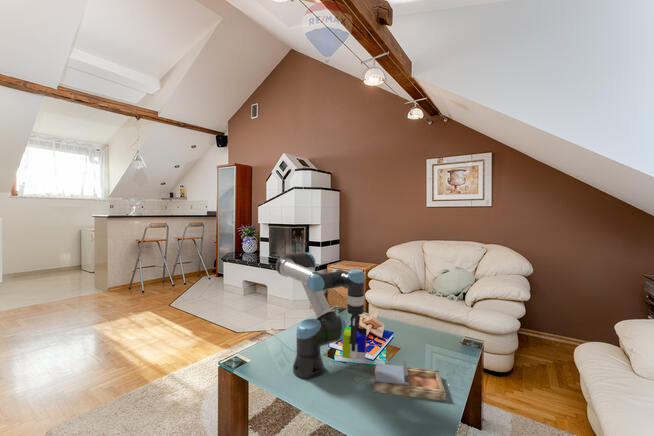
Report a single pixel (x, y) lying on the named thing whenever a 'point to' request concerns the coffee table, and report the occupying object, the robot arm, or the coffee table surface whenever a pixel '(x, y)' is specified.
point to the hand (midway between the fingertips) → (354, 351)
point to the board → (416, 385)
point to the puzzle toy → (360, 341)
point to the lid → (392, 374)
